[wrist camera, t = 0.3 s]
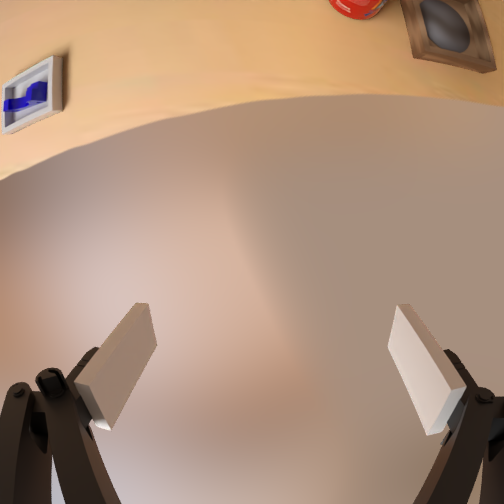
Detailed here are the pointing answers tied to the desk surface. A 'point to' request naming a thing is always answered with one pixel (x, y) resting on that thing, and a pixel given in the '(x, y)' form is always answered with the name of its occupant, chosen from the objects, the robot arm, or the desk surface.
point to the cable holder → (27, 98)
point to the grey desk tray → (17, 88)
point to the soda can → (358, 7)
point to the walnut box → (449, 33)
